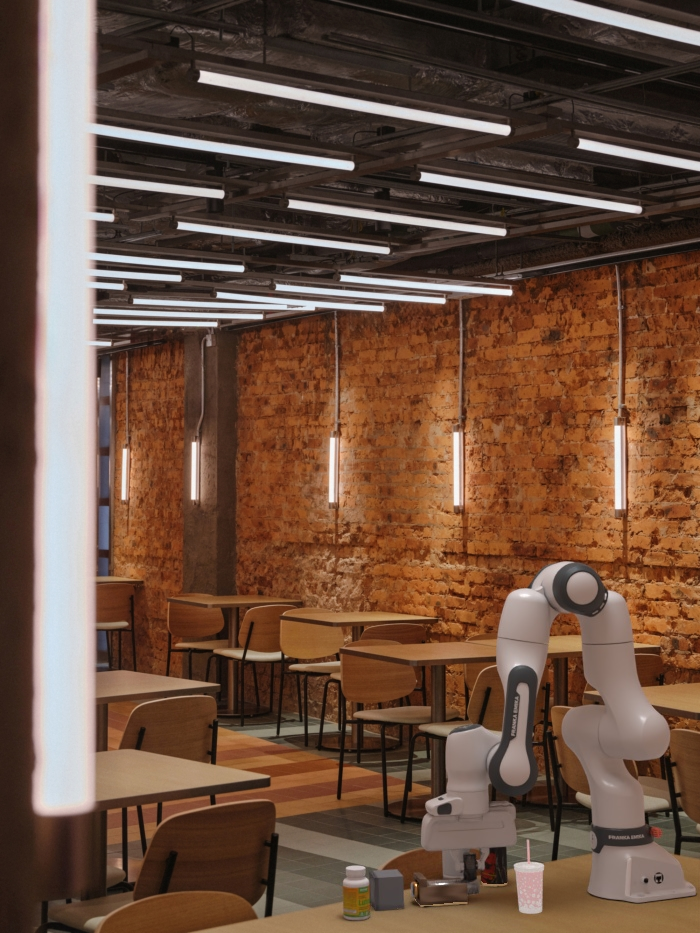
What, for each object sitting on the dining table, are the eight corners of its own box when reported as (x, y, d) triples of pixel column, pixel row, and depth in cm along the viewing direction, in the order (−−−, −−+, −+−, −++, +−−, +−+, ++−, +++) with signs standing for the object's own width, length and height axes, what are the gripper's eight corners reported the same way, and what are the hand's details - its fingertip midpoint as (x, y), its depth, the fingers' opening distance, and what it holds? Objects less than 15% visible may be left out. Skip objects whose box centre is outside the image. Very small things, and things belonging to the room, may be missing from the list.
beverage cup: (550, 913, 242) (547, 841, 244) (520, 915, 241) (517, 843, 243) (540, 905, 248) (537, 835, 250) (511, 907, 247) (509, 837, 249)
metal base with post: (475, 891, 256) (474, 852, 257) (479, 895, 253) (478, 855, 254) (410, 896, 254) (409, 856, 254) (414, 900, 250) (413, 859, 251)
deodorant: (513, 884, 266) (510, 814, 268) (492, 888, 263) (490, 818, 264) (495, 879, 271) (493, 811, 273) (475, 883, 268) (472, 814, 269)
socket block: (397, 900, 255) (397, 869, 255) (404, 908, 248) (403, 876, 249) (369, 902, 254) (369, 871, 254) (375, 910, 247) (374, 878, 248)
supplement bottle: (361, 922, 239) (360, 871, 240) (338, 918, 242) (337, 869, 243) (375, 915, 244) (373, 866, 245) (352, 912, 247) (351, 863, 248)
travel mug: (471, 884, 267) (468, 791, 269) (441, 883, 268) (438, 791, 270) (473, 877, 273) (470, 787, 275) (444, 876, 275) (442, 787, 277)
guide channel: (460, 896, 257) (459, 869, 257) (467, 904, 251) (466, 876, 251) (414, 899, 255) (413, 872, 256) (420, 907, 249) (419, 879, 250)
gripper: (510, 797, 261) (513, 863, 259) (418, 802, 257) (420, 869, 256) (519, 802, 255) (522, 870, 253) (424, 808, 251) (426, 876, 250)
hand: (470, 870), depth 255 cm, fingers open, 3 cm apart
